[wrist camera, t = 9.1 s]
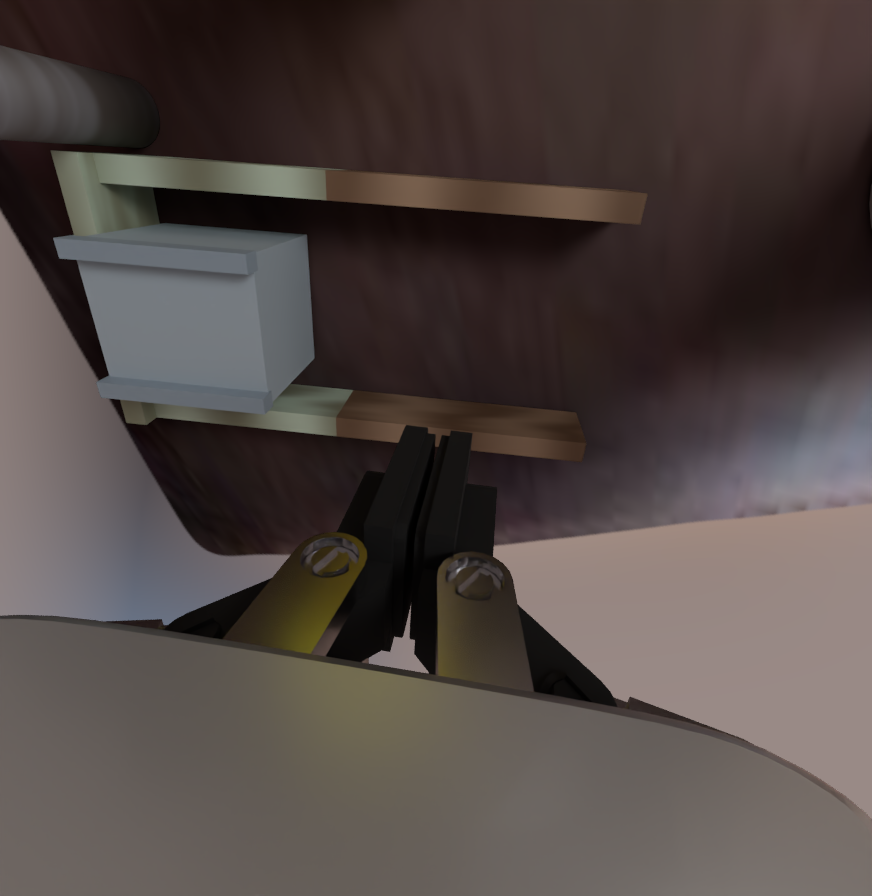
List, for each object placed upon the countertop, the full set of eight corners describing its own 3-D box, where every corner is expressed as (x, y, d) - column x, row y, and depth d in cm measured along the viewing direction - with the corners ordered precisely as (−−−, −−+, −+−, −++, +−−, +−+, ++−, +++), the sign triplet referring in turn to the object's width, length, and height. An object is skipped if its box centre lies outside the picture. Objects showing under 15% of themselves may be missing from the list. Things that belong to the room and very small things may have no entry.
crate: (308, 232, 27) (245, 254, 20) (316, 359, 30) (265, 414, 24) (162, 220, 27) (52, 238, 20) (187, 347, 31) (100, 397, 24)
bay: (662, 26, 21) (777, -72, 13) (572, 429, 31) (602, 529, 22) (75, -6, 23) (-180, -112, 14) (165, 388, 33) (46, 466, 24)
